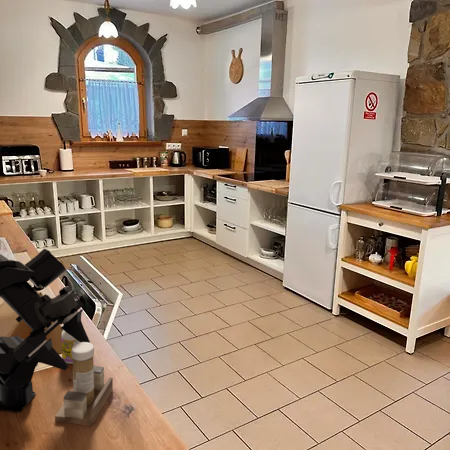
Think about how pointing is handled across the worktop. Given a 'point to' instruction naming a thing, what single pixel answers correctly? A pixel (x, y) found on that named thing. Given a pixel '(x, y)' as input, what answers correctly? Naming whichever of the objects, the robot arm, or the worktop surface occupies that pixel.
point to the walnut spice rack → (85, 401)
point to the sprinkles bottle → (83, 369)
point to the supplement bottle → (67, 346)
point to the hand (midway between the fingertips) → (78, 356)
